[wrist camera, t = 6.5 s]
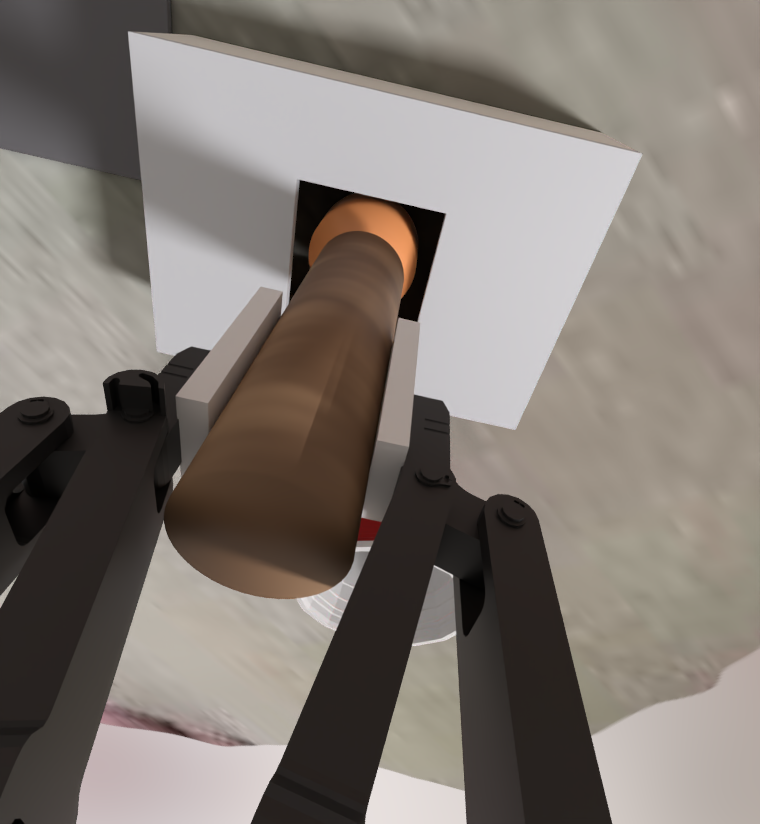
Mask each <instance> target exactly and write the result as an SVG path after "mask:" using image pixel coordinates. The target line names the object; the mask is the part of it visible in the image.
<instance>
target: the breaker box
mask: <svg viewBox="0 0 760 824" xmlns="http://www.w3.org/2000/svg"><path fill="white" fill-rule="evenodd" d="M128 38H129V49H130V60H131V71H132V82H133V93H134V104H135V115H136V126H137V137H138V148H139V159H140V170H141V181H142V192H143V203H144V214H145V225H146V236H147V247H148V259H149V270H150V281H151V292H152V303H153V314H154V325H155V336H156V347H157V352H160V353H165V354H169V355H174V356H175V355H176V354H177V353H179V352H181V351H183V350H185V349H187V348H189V347H191V346H192V347H197V348H201V349H206V350H210V351H211V350H212V349H213V347H214V346H215V345H216V343H217V342H218V341H219V340H220V338H221V337H222V336H223V334H224V333H225V332H226V331H227V329H228V328H229V327H230V325H231V324H232V323H233V322H234V320H235V319H236V318H237V316H238V315H239V314H240V313H241V311H242V310H243V309H244V307H245V306H246V305H247V304H248V302H249V301H250V300H251V298H252V297H253V296H254V295H255V293H256V292H257V291H258V289H259V288H260V287H264V288H269V289H273V290H278V291H282V292H283V296H282V308H281V315H282V314H283V312H284V311H285V309H286V307H287V306H288V304H289V295H290V283H291V272H292V261H293V249H294V238H295V226H296V215H297V204H298V192H299V181H300V180H303V181H307V182H312V183H316V184H320V185H325V186H329V187H333V188H338V189H342V190H346V191H351V192H355V193H359V194H364V195H368V196H372V197H377V198H381V199H385V200H390V201H394V202H398V203H403V204H407V205H411V206H416V207H420V208H424V209H429V210H433V211H437V212H442V213H445V217H444V221H443V224H442V228H441V232H440V236H439V240H438V244H437V247H436V251H435V255H434V259H433V263H432V266H431V270H430V274H429V278H428V282H427V286H426V289H425V293H424V297H423V301H422V305H421V308H420V312H419V316H418V320H417V322H420V333H419V344H418V355H417V366H416V376H415V387H414V395H419V396H423V397H428V398H432V399H437V400H441V401H443V402H444V404H445V405H446V407H447V409H448V411H449V412H450V416H454V417H459V418H463V419H468V420H472V421H477V422H481V423H486V424H491V425H495V426H500V427H504V428H509V429H514V430H516V427H517V425H518V423H519V421H520V419H521V417H522V414H523V412H524V410H525V408H526V406H527V404H528V401H529V399H530V397H531V395H532V393H533V391H534V388H535V386H536V384H537V382H538V380H539V378H540V375H541V373H542V371H543V369H544V367H545V364H546V362H547V360H548V358H549V356H550V354H551V351H552V349H553V347H554V345H555V343H556V341H557V338H558V336H559V334H560V332H561V330H562V328H563V325H564V323H565V321H566V319H567V317H568V315H569V312H570V310H571V308H572V306H573V304H574V302H575V299H576V297H577V295H578V293H579V291H580V289H581V286H582V284H583V282H584V280H585V278H586V276H587V273H588V271H589V269H590V267H591V265H592V263H593V260H594V258H595V256H596V254H597V252H598V250H599V247H600V245H601V243H602V241H603V239H604V237H605V234H606V232H607V230H608V228H609V226H610V224H611V221H612V219H613V217H614V215H615V213H616V211H617V208H618V206H619V204H620V202H621V200H622V198H623V195H624V193H625V191H626V189H627V187H628V185H629V182H630V180H631V178H632V176H633V174H634V172H635V169H636V167H637V165H638V163H639V161H640V159H641V156H642V153H640V152H638V151H636V150H634V149H632V148H630V147H629V146H627V145H625V144H623V143H621V142H619V141H617V140H615V139H613V138H611V137H609V136H607V135H606V134H604V133H601V132H597V131H592V130H588V129H584V128H580V127H576V126H572V125H567V124H563V123H559V122H555V121H551V120H546V119H542V118H538V117H534V116H530V115H525V114H521V113H517V112H513V111H509V110H505V109H500V108H496V107H492V106H488V105H484V104H479V103H475V102H471V101H467V100H463V99H459V98H454V97H450V96H446V95H442V94H438V93H433V92H429V91H425V90H421V89H417V88H412V87H408V86H404V85H400V84H396V83H392V82H387V81H383V80H379V79H375V78H371V77H366V76H362V75H358V74H354V73H350V72H345V71H341V70H337V69H333V68H329V67H325V66H320V65H316V64H312V63H308V62H304V61H299V60H295V59H291V58H287V57H283V56H278V55H274V54H270V53H266V52H262V51H258V50H253V49H249V48H245V47H241V46H237V45H232V44H228V43H224V42H220V41H216V40H211V39H207V38H203V37H199V36H195V35H183V34H166V33H148V32H131V31H128ZM393 340H394V339H393Z"/></svg>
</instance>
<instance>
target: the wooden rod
mask: <svg viewBox="0 0 760 824" xmlns="http://www.w3.org/2000/svg"><path fill="white" fill-rule="evenodd" d="M403 283H404V270H403V266H402V262H401V260H400V258H399V256H398V254H397V252H396V251H395V250H394V248H393V247H392V246H391V245H390V244H389V243H388V242H387V241H385V240H384V239H382V238H381V237H379V236H377V235H375V234H372V233H369V232H364V231H350V232H346V233H342V234H340V235H338V236H336V237H334V238H333V239H331V240H330V241H329V242H328V243H327V244H326V245H325V246H324V248H323V249H322V250H321V252H320V254H319V255H318V257H317V259H316V260H315V262H314V263H313V265H312V267H311V268H310V270H309V272H308V273H307V275H306V276H305V278H304V280H303V281H302V283H301V285H300V286H299V288H298V289H297V291H296V293H295V294H294V296H293V298H292V299H291V301H290V302H289V304H288V306H287V307H286V309H285V311H284V312H283V314H282V315H281V317H280V319H279V320H278V322H277V324H276V325H275V327H274V328H273V330H272V332H271V333H270V335H269V336H268V338H267V340H266V341H265V343H264V345H263V346H262V348H261V349H260V351H259V353H258V354H257V356H256V358H255V359H254V361H253V362H252V364H251V366H250V367H249V369H248V371H247V372H246V374H245V375H244V377H243V379H242V380H241V382H240V384H239V385H238V387H237V388H236V390H235V392H234V393H233V395H232V397H231V398H230V400H229V401H228V403H227V405H226V406H225V408H224V410H223V411H222V413H221V414H220V416H219V418H218V419H217V421H216V422H215V424H214V426H213V427H212V429H211V431H210V432H209V434H208V435H207V437H206V439H205V440H204V442H203V444H202V445H201V447H200V448H199V450H198V452H197V453H196V455H195V457H194V458H193V460H192V461H191V463H190V465H189V466H188V468H187V470H186V471H185V473H184V474H183V476H182V478H181V479H180V481H179V483H178V484H177V486H176V487H175V489H174V491H173V492H172V494H171V496H170V497H169V499H168V501H167V504H166V506H165V511H164V524H165V529H166V532H167V535H168V537H169V539H170V541H171V543H172V544H173V546H174V548H175V549H176V550H177V552H178V553H179V554H180V555H181V556H182V557H183V558H184V559H185V560H186V561H187V562H188V563H189V564H190V565H191V566H192V567H193V568H195V569H196V570H197V571H199V572H200V573H202V574H203V575H205V576H206V577H208V578H210V579H211V580H213V581H215V582H217V583H219V584H221V585H223V586H226V587H228V588H231V589H233V590H236V591H239V592H242V593H246V594H250V595H254V596H259V597H265V598H275V599H295V598H303V597H309V596H313V595H317V594H320V593H322V592H325V591H327V590H329V589H331V588H333V587H334V586H336V585H337V584H338V583H340V582H341V581H342V580H343V579H344V578H345V577H346V576H347V574H348V573H349V571H350V569H351V567H352V564H353V562H354V556H355V551H356V545H357V540H358V534H359V529H360V523H361V517H362V512H363V506H364V501H365V495H366V490H367V484H368V478H369V471H370V465H371V460H372V454H373V449H374V443H375V438H376V432H377V427H378V421H379V415H380V410H381V404H382V399H383V393H384V388H385V382H386V377H387V371H388V366H389V360H390V354H391V349H392V344H393V339H394V334H395V328H396V323H397V317H398V311H399V306H400V300H401V295H402V289H403Z"/></svg>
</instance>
